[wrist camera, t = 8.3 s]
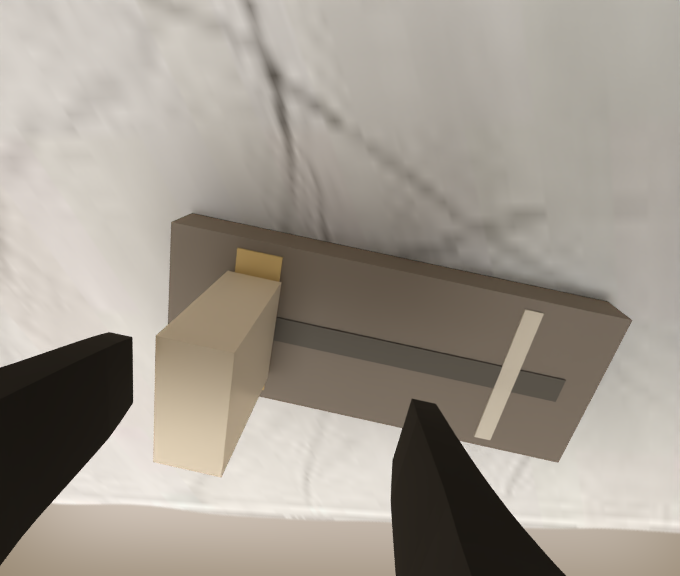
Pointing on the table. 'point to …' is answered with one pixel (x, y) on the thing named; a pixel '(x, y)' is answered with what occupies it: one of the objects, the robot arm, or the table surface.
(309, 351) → the fader console
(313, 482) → the table surface
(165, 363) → the fader tab
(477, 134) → the table surface
